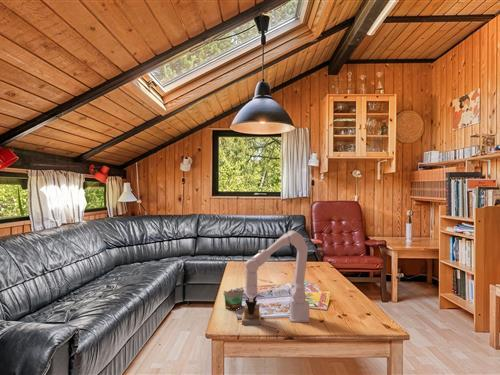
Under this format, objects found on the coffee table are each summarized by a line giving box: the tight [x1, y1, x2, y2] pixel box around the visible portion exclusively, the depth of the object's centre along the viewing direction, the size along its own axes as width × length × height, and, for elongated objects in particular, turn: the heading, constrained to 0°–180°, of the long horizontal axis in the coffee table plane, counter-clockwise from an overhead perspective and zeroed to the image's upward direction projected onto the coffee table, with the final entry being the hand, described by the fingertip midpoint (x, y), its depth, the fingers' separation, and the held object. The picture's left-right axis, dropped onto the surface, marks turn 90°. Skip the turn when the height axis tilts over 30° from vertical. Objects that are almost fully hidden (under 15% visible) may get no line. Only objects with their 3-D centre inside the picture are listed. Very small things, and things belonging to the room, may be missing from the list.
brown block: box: [244, 303, 260, 319], centre depth 161 cm, size 7×5×5 cm
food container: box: [223, 286, 245, 311], centre depth 176 cm, size 12×6×10 cm, turn 126°
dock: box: [241, 311, 262, 326], centre depth 161 cm, size 9×10×2 cm
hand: (251, 311), depth 161 cm, fingers open, 7 cm apart
